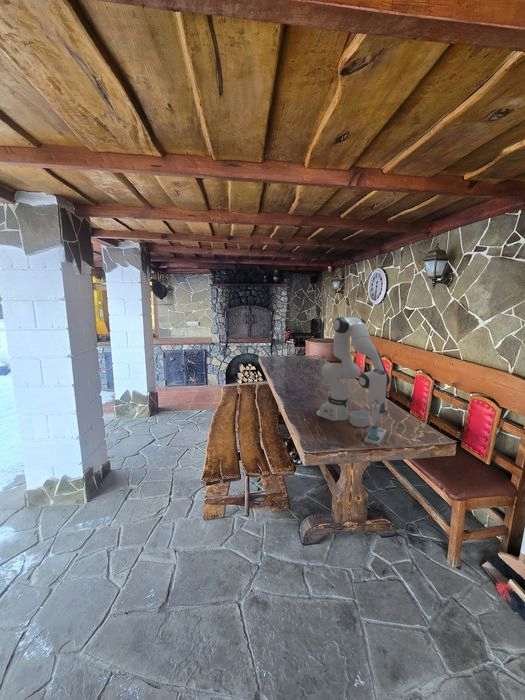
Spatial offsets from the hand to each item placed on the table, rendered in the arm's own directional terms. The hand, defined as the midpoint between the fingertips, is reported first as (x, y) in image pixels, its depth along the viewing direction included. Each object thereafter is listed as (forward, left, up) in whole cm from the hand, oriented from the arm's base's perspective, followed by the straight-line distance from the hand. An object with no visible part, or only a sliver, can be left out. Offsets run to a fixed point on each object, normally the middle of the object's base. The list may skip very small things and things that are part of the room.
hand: (375, 420), depth 162 cm
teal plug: (0, 0, -13) cm, 13 cm away
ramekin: (-14, +19, -13) cm, 27 cm away
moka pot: (-10, +53, -13) cm, 56 cm away
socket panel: (0, +6, -13) cm, 14 cm away
